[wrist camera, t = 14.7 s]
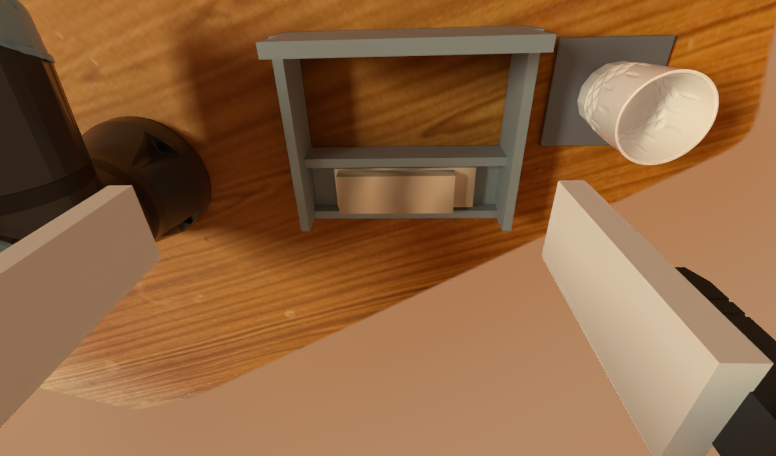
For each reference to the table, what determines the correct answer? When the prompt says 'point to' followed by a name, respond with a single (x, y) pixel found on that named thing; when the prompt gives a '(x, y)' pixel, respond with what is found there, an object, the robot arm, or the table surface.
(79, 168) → the robot arm
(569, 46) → the mat
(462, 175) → the block
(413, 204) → the upper offcut
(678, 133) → the white cup
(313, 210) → the rack
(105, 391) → the table surface
